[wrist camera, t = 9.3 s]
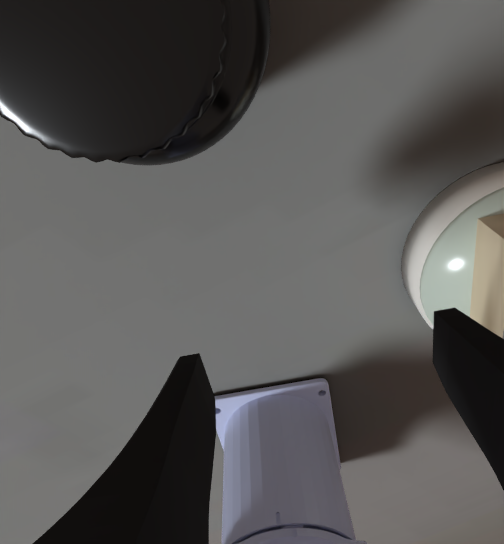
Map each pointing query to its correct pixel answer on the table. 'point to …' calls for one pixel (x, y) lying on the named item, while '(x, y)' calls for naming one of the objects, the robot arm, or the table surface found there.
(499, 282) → the block
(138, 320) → the table surface
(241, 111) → the supplement bottle
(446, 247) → the stand
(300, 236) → the table surface
